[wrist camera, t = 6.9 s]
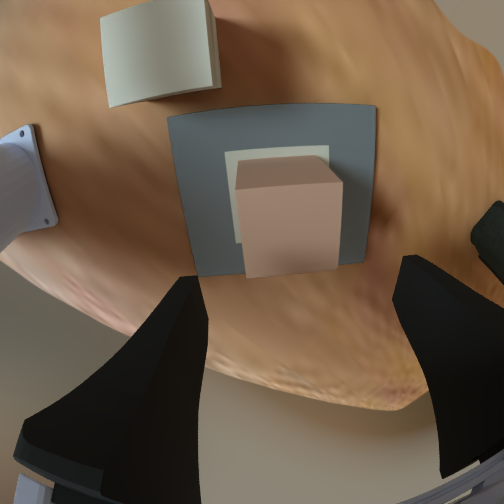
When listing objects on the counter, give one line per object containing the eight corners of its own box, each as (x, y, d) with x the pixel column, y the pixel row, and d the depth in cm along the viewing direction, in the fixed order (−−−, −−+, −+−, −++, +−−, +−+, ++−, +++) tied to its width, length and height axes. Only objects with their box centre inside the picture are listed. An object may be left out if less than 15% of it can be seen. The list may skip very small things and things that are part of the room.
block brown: (245, 229, 18) (246, 278, 14) (238, 160, 16) (235, 189, 11) (316, 223, 18) (337, 269, 14) (316, 154, 15) (342, 182, 11)
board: (198, 273, 20) (197, 277, 20) (168, 116, 14) (166, 117, 14) (362, 259, 20) (364, 262, 20) (372, 105, 14) (375, 105, 14)
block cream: (146, 101, 14) (109, 108, 10) (138, 33, 12) (100, 17, 7) (222, 87, 14) (212, 85, 10) (215, 17, 11) (203, -11, 7)
